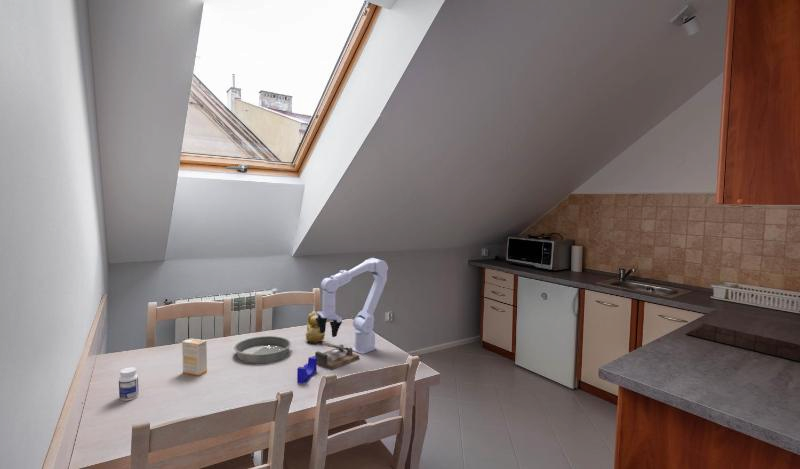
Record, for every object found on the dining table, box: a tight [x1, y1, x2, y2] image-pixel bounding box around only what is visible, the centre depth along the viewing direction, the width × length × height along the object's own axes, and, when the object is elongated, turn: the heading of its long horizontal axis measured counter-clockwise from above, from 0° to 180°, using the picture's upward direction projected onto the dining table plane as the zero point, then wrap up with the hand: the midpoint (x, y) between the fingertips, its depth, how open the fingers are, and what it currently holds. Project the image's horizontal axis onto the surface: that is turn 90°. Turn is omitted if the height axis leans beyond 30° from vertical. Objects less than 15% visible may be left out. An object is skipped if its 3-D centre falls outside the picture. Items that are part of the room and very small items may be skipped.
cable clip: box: [296, 356, 318, 384], centre depth 169 cm, size 12×4×6 cm, turn 169°
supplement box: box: [181, 337, 208, 377], centre depth 169 cm, size 8×5×13 cm, turn 71°
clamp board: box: [312, 344, 360, 370], centre depth 187 cm, size 17×14×5 cm
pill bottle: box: [118, 366, 140, 402], centre depth 147 cm, size 6×6×10 cm
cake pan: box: [233, 335, 292, 364], centre depth 192 cm, size 25×25×4 cm
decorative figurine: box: [305, 310, 326, 344], centre depth 209 cm, size 10×8×15 cm
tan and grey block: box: [321, 341, 349, 351], centre depth 188 cm, size 14×4×1 cm, turn 143°
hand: (328, 334), depth 190 cm, fingers open, 7 cm apart
